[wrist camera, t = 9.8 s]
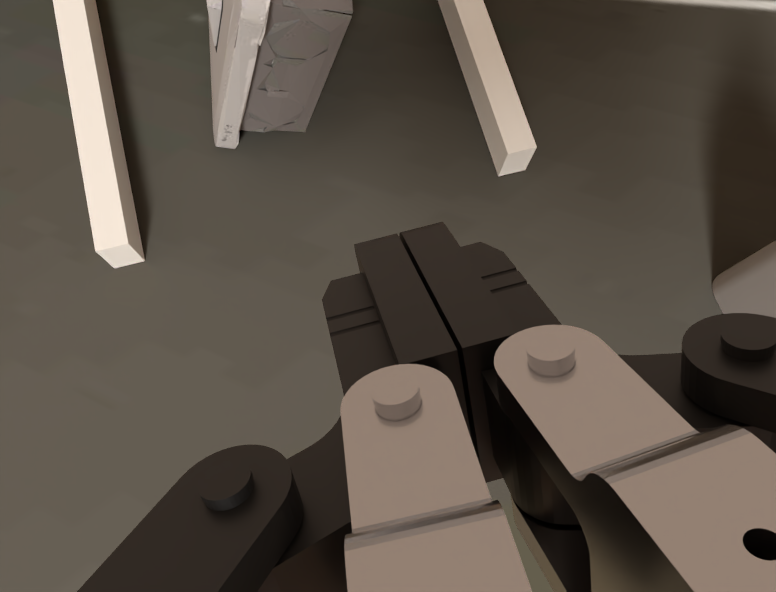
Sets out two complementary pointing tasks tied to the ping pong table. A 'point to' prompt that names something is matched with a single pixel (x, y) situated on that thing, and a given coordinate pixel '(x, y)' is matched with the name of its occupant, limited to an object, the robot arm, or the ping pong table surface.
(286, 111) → the electrical switch
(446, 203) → the ping pong table surface
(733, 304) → the power adapter
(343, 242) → the ping pong table surface
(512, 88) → the frame
